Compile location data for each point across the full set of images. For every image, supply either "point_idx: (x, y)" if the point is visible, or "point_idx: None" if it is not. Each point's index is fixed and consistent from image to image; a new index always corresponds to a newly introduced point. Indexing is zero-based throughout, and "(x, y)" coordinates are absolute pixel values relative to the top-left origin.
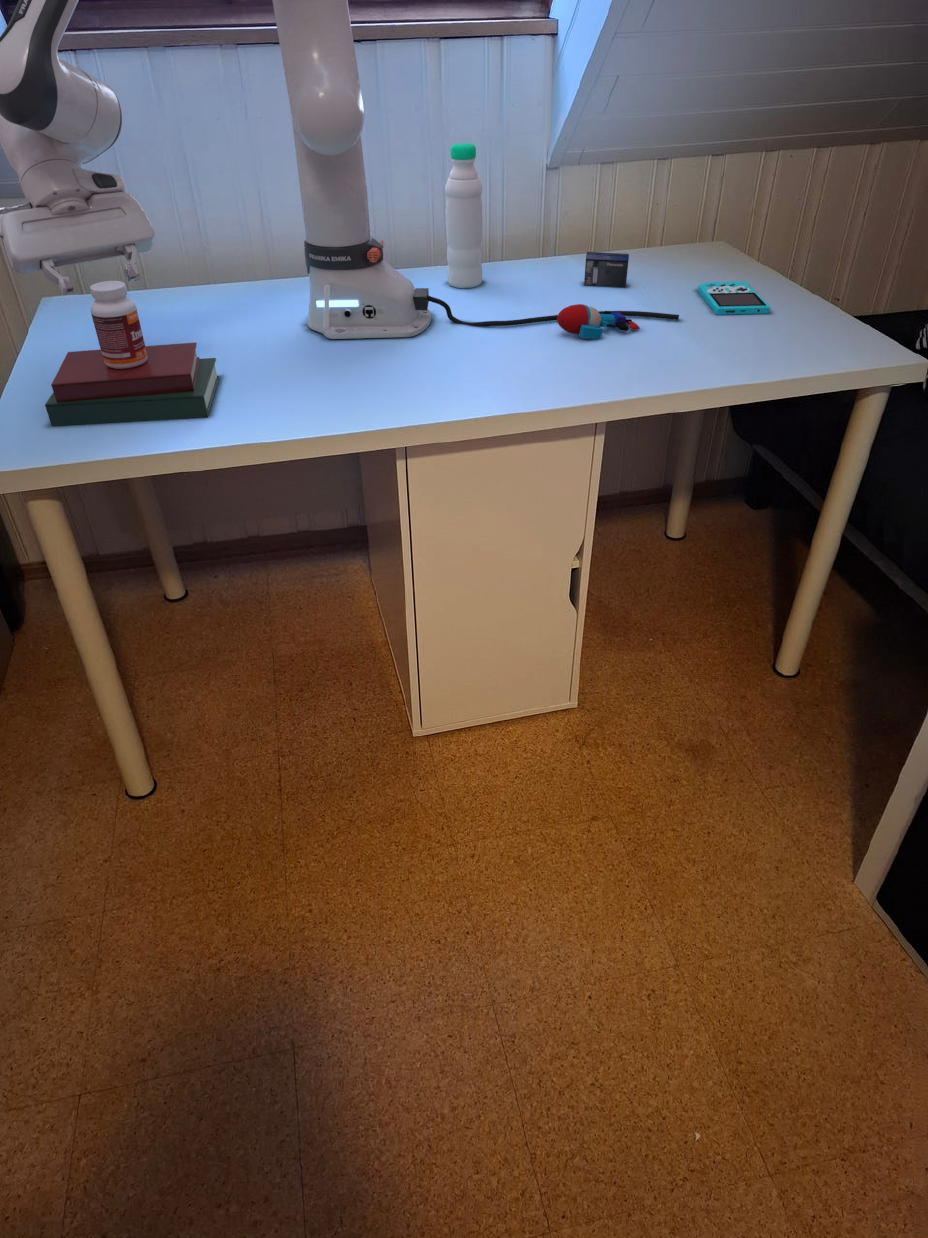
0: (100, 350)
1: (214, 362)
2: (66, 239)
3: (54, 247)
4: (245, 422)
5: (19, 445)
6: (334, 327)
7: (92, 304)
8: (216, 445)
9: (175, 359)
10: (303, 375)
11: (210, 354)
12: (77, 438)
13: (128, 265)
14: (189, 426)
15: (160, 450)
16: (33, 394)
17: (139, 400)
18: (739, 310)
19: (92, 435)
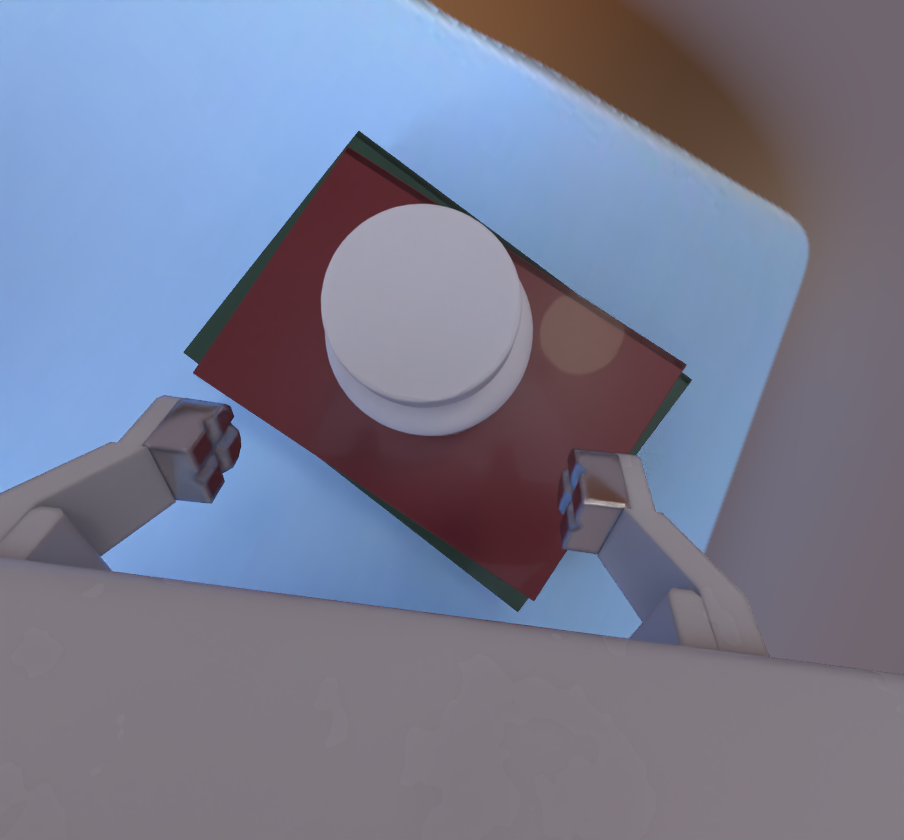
0: (451, 533)
1: (206, 324)
2: (507, 770)
3: (664, 709)
4: (323, 78)
5: (760, 337)
6: None
7: (516, 354)
8: (435, 22)
9: (319, 283)
10: (54, 216)
11: (139, 532)
12: (646, 277)
13: (169, 445)
14: (427, 151)
15: (537, 87)
16: (620, 616)
17: (492, 231)
18: None
19: (614, 267)
